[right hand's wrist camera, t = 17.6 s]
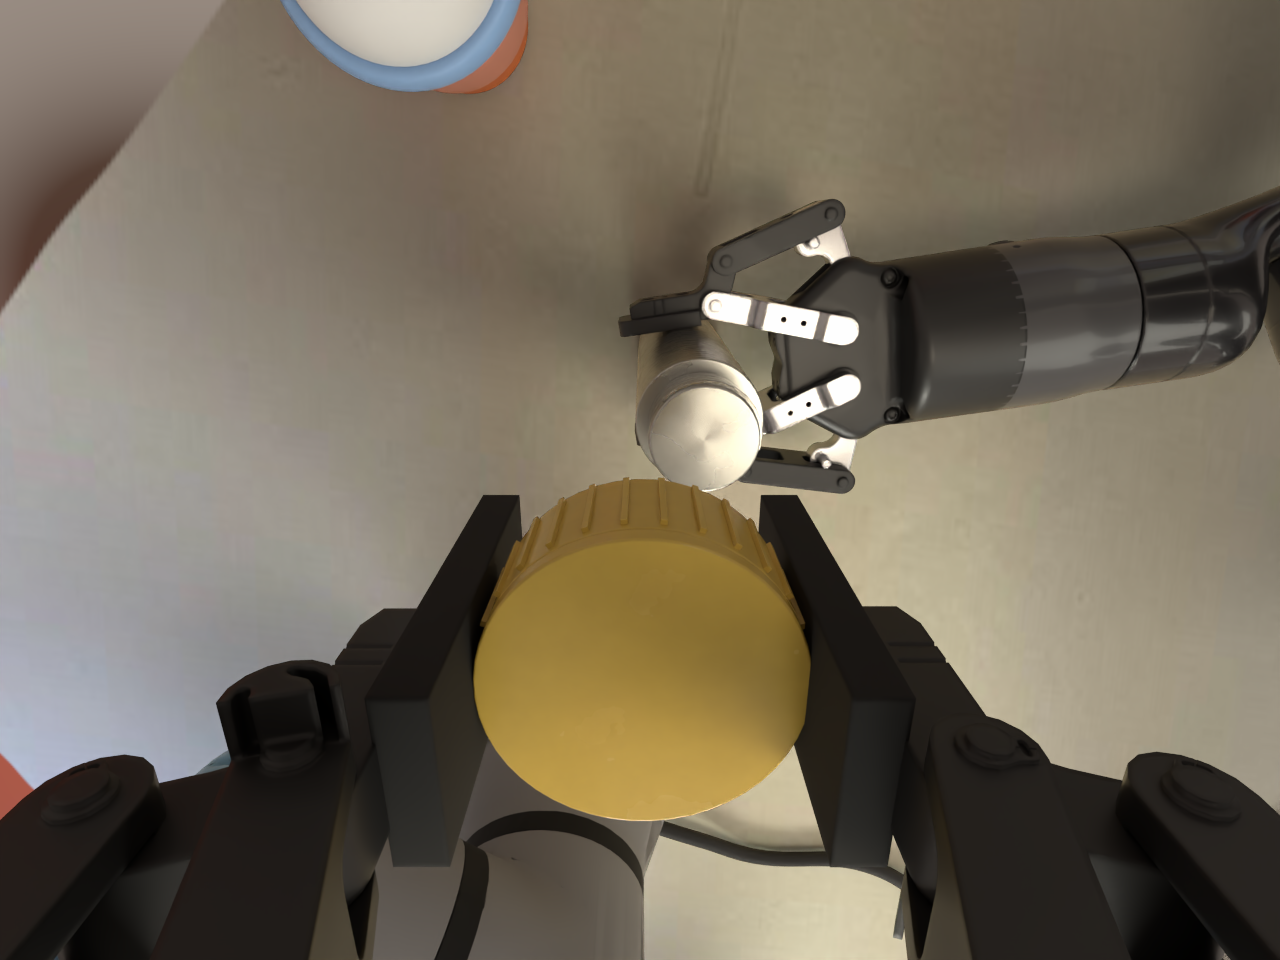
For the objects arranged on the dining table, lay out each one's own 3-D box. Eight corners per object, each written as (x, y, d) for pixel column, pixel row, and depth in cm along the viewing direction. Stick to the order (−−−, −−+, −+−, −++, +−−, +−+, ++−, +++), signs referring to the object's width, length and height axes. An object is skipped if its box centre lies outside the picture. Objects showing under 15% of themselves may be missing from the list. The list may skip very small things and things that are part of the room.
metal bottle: (735, 355, 39) (802, 449, 22) (671, 405, 40) (692, 529, 23) (685, 290, 37) (718, 341, 21) (621, 344, 38) (606, 430, 22)
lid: (445, 546, 12) (399, 621, 10) (718, 424, 11) (737, 473, 9) (580, 759, 14) (568, 864, 11) (826, 666, 13) (865, 759, 11)
